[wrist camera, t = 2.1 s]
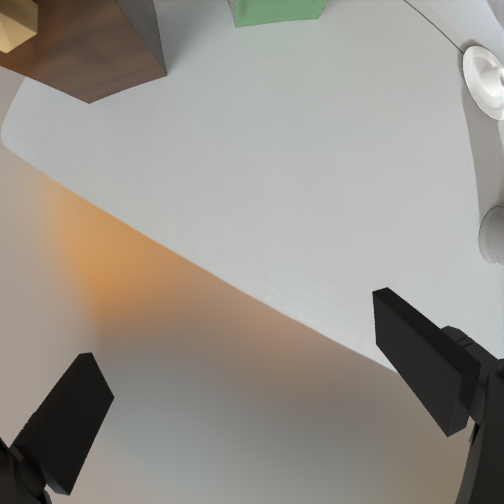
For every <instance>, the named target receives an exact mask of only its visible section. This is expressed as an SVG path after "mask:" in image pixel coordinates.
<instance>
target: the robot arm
mask: <svg viewBox="0 0 504 504" xmlns="http://www.w3.org/2000/svg"><path fill="white" fill-rule="evenodd" d="M372 294H373V305H374V318H375V333H376V345H377V346H378V347H379V349H380V350H381V351H382V352H383V354H384V355H385V356H386V357H387V359H388V360H389V361H390V362H391V364H392V365H393V366H394V368H395V369H396V370H397V371H398V373H399V374H400V375H401V376H402V378H403V379H404V380H405V382H406V383H407V384H408V385H409V387H410V388H411V389H412V391H413V392H414V393H415V395H416V396H417V397H418V399H419V400H420V401H421V402H422V404H423V405H424V406H425V408H426V409H427V411H428V412H429V413H430V415H431V416H432V417H433V419H434V420H435V421H436V423H437V424H438V425H439V427H440V428H441V429H442V431H443V432H444V433H445V435H446V436H447V437H449V436H451V435H453V434H455V433H456V432H458V431H460V430H462V429H464V428H465V427H466V425H467V422H468V418H469V415H470V416H471V417H472V419H473V420H474V421H475V425H474V428H473V431H472V434H471V437H470V440H469V442H471V444H470V449H469V454H468V458H467V463H466V467H465V471H464V475H463V479H462V483H461V486H460V490H459V493H458V497H457V500H456V503H455V504H504V358H503V359H499V360H498V359H497V358H495V357H494V356H493V355H492V354H490V353H489V352H488V351H487V350H485V349H484V348H483V347H482V346H480V345H479V344H478V343H477V342H476V343H475V341H474V340H473V339H471V338H470V337H469V338H468V335H466V334H465V333H464V332H462V331H461V330H460V329H457V328H454V327H451V326H446V327H444V328H441V329H440V328H439V327H437V326H436V325H435V324H434V323H433V322H431V321H430V320H429V319H428V318H426V317H425V316H424V315H423V314H421V313H420V312H419V311H418V310H416V309H415V308H414V307H412V306H411V305H410V304H409V303H407V302H406V301H405V300H404V299H402V298H401V297H400V296H398V295H397V294H396V293H395V292H393V291H392V290H391V289H389V288H388V287H386V288H383V289H380V290H376V291H373V292H372ZM113 399H114V396H113V394H112V392H111V390H110V388H109V387H108V384H107V382H106V381H105V379H104V377H103V375H102V373H101V371H100V369H99V367H98V365H97V363H96V361H95V359H94V356H93V354H92V353H83V354H79V355H78V356H77V358H76V359H75V360H74V362H73V363H72V364H71V365H70V367H69V368H68V369H67V371H66V372H65V373H64V374H63V376H62V377H61V378H60V380H59V381H58V382H57V384H56V385H55V386H54V388H53V389H52V390H51V392H50V393H49V394H48V396H47V397H46V398H45V400H44V401H43V402H42V404H41V405H40V406H39V408H38V409H37V411H36V412H34V413H33V414H32V416H31V417H30V419H29V420H28V423H26V424H25V426H24V427H23V428H24V429H22V430H21V431H20V433H19V434H18V436H17V437H16V439H15V440H14V441H13V443H12V444H11V446H10V448H8V447H7V446H6V444H5V443H4V442H3V440H2V439H1V438H0V504H52V502H51V500H50V496H49V494H48V493H47V491H46V490H45V489H44V488H45V486H46V484H48V486H49V487H50V488H51V489H52V490H53V491H54V492H55V493H58V494H64V495H70V494H71V492H72V489H73V487H74V484H75V482H76V480H77V477H78V475H79V473H80V470H81V468H82V466H83V464H84V461H85V459H86V457H87V454H88V452H89V450H90V448H91V446H92V444H93V441H94V439H95V437H96V435H97V433H98V431H99V429H100V426H101V424H102V422H103V420H104V418H105V416H106V413H107V411H108V409H109V407H110V405H111V403H112V401H113Z"/></svg>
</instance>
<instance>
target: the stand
mask: <svg viewBox="0 0 504 504" xmlns="http://www.w3.org/2000/svg"><path fill="white" fill-rule="evenodd" d="M32 1H34V2H35V3H36V4H38V20H37V34H36V35H34V36H33V37H31V38H29V39H28V40H26V41H25V42H23V43H21V44H20V45H18V46H17V47H15V48H14V49H12V50H11V51H9V52H8V53H5V52H2V51H0V66H2V67H5V68H7V69H10V70H12V71H15V72H17V73H20V74H22V75H25V76H27V77H29V78H32V79H34V80H36V81H39V82H41V83H43V84H46V85H48V86H50V87H53V88H55V89H57V90H60V91H62V92H64V93H66V94H68V95H71V96H73V97H75V98H77V99H80V100H82V101H84V102H86V103H88V104H90V103H92V102H94V101H97V100H99V99H102V98H104V97H107V96H109V95H112V94H115V93H117V92H120V91H123V90H125V89H128V88H131V87H134V86H137V85H140V84H143V83H146V82H149V81H152V80H155V79H158V78H162V77H165V76H167V73H166V68H165V63H164V57H163V52H162V47H161V41H160V36H159V30H158V24H157V19H156V13H155V9H154V7H153V5H152V3H151V1H150V0H32Z"/></svg>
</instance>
